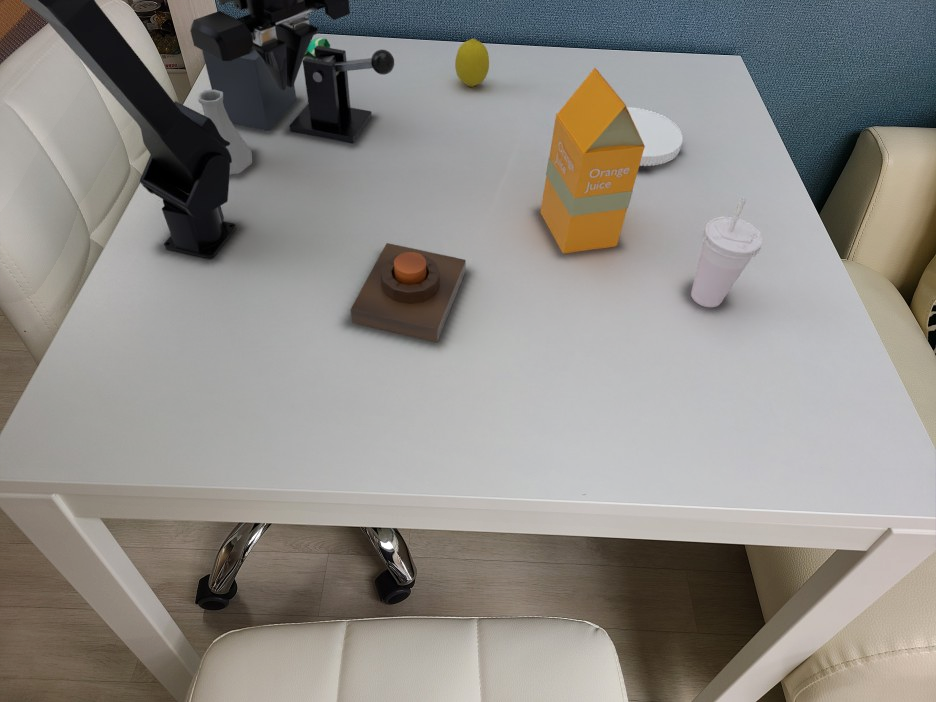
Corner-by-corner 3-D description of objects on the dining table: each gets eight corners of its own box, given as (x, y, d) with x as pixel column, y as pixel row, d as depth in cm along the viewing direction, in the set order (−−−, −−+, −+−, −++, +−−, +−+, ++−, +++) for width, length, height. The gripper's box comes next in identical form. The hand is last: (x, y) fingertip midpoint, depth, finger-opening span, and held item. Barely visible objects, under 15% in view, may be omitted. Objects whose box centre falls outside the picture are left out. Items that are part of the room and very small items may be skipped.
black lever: (400, 67, 94) (393, 44, 92) (392, 77, 92) (386, 54, 90) (325, 74, 98) (317, 52, 96) (316, 84, 96) (308, 62, 94)
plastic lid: (635, 113, 109) (639, 99, 108) (697, 156, 102) (702, 141, 100) (568, 135, 104) (571, 120, 102) (628, 181, 97) (632, 166, 95)
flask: (260, 150, 97) (246, 84, 89) (244, 179, 92) (228, 112, 85) (211, 145, 97) (193, 79, 90) (192, 174, 92) (172, 106, 85)
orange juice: (562, 254, 85) (591, 108, 70) (538, 212, 91) (562, 68, 76) (618, 246, 87) (659, 101, 72) (592, 205, 92) (625, 63, 77)
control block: (437, 343, 74) (437, 317, 71) (351, 323, 75) (348, 297, 72) (465, 273, 82) (466, 247, 79) (387, 256, 83) (385, 230, 80)
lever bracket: (372, 118, 104) (367, 49, 96) (353, 145, 99) (347, 74, 91) (312, 107, 106) (302, 37, 98) (290, 132, 100) (278, 62, 92)
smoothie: (694, 271, 84) (733, 176, 74) (742, 295, 82) (789, 200, 71) (670, 297, 81) (707, 201, 70) (719, 323, 78) (765, 228, 68)
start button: (420, 288, 75) (420, 276, 73) (389, 281, 75) (389, 269, 74) (430, 267, 77) (430, 255, 76) (400, 260, 77) (399, 249, 76)
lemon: (449, 82, 113) (450, 34, 107) (478, 77, 115) (481, 29, 109) (462, 97, 110) (465, 49, 104) (492, 92, 112) (496, 43, 106)
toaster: (268, 132, 100) (254, 57, 92) (219, 122, 101) (201, 48, 93) (296, 100, 107) (286, 28, 98) (250, 91, 108) (235, 19, 99)
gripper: (282, -89, 80) (300, 43, 92) (141, -51, 70) (181, 91, 82) (347, -64, 76) (357, 71, 87) (207, -20, 66) (239, 125, 77)
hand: (285, 87), depth 83 cm, fingers closed
